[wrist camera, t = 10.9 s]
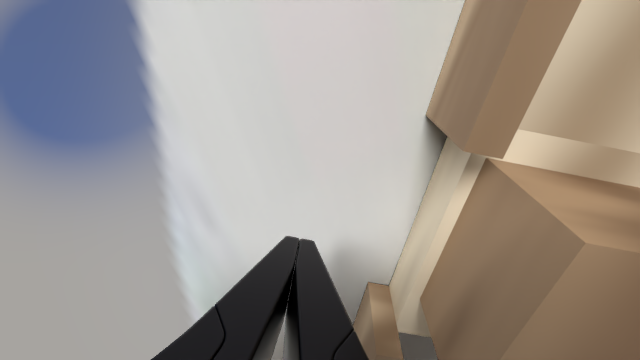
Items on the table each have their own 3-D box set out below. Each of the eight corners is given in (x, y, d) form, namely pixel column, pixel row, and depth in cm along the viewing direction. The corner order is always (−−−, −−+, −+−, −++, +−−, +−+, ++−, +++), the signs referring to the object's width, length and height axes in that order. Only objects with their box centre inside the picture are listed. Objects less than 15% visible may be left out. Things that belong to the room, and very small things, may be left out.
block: (677, 195, 9) (897, 301, 6) (567, 325, 12) (668, 454, 8) (486, 157, 9) (585, 242, 5) (419, 299, 12) (456, 419, 8)
